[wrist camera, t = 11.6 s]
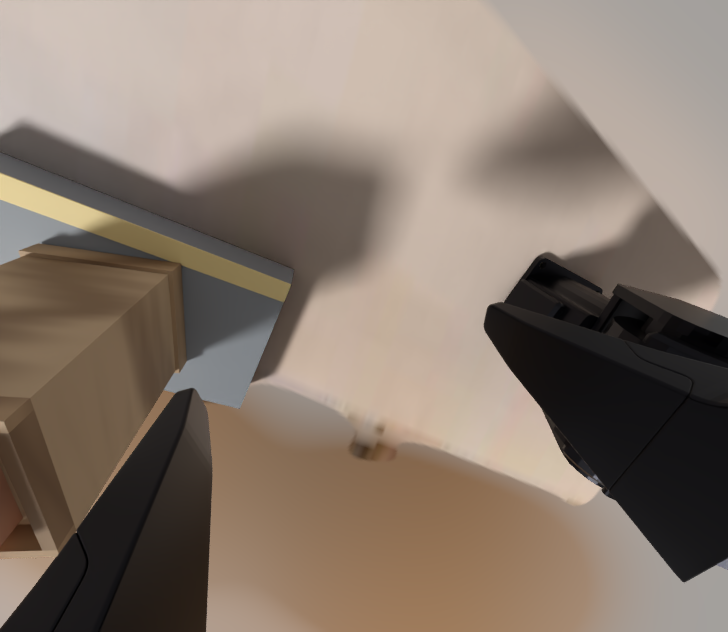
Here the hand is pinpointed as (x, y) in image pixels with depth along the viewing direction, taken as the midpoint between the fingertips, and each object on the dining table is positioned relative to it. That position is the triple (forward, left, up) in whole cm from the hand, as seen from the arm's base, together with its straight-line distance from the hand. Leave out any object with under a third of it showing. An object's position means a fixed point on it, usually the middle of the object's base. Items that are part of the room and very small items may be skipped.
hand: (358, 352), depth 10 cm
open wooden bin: (+10, +8, -10) cm, 16 cm away
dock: (+10, +8, -12) cm, 17 cm away
